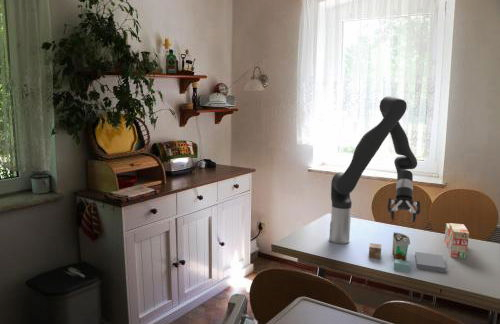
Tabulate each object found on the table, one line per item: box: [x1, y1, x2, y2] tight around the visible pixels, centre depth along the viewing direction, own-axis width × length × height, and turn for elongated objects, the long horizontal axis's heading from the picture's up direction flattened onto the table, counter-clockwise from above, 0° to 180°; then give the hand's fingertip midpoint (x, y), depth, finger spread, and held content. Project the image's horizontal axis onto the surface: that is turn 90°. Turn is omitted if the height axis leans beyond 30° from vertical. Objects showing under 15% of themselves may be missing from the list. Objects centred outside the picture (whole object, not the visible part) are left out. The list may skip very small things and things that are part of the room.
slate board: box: [414, 251, 447, 273], centre depth 176 cm, size 11×14×2 cm
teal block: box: [393, 259, 411, 273], centre depth 171 cm, size 6×4×3 cm, turn 66°
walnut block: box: [368, 242, 382, 260], centre depth 183 cm, size 5×5×5 cm
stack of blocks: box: [444, 222, 470, 260], centre depth 192 cm, size 21×6×12 cm, turn 163°
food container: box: [391, 232, 411, 262], centre depth 180 cm, size 12×6×10 cm, turn 168°
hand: (403, 220), depth 189 cm, fingers open, 8 cm apart
